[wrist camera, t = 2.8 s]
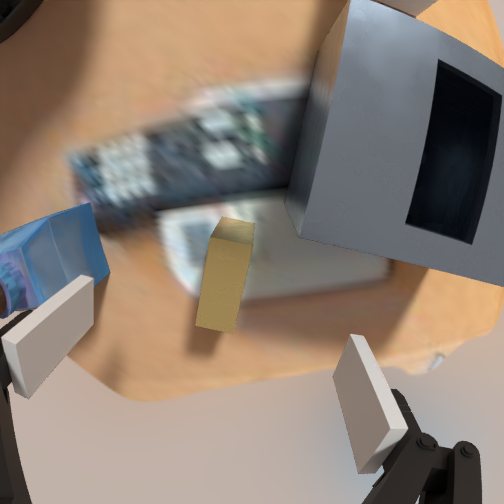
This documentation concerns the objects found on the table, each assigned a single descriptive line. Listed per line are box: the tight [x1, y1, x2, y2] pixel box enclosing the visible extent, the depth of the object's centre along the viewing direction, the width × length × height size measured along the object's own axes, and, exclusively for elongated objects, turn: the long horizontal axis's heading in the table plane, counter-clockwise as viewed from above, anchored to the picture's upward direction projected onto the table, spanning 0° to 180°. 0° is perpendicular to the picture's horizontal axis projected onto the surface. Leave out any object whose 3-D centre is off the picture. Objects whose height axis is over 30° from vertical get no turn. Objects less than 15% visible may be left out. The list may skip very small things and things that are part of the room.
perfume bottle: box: [0, 202, 110, 319], centre depth 20 cm, size 6×6×12 cm
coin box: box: [284, 0, 504, 287], centre depth 17 cm, size 14×12×10 cm
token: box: [195, 217, 255, 334], centre depth 22 cm, size 2×6×6 cm, turn 168°
